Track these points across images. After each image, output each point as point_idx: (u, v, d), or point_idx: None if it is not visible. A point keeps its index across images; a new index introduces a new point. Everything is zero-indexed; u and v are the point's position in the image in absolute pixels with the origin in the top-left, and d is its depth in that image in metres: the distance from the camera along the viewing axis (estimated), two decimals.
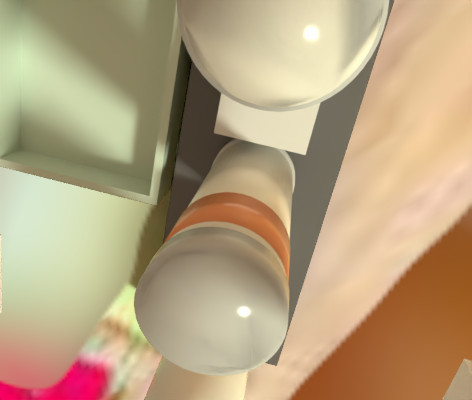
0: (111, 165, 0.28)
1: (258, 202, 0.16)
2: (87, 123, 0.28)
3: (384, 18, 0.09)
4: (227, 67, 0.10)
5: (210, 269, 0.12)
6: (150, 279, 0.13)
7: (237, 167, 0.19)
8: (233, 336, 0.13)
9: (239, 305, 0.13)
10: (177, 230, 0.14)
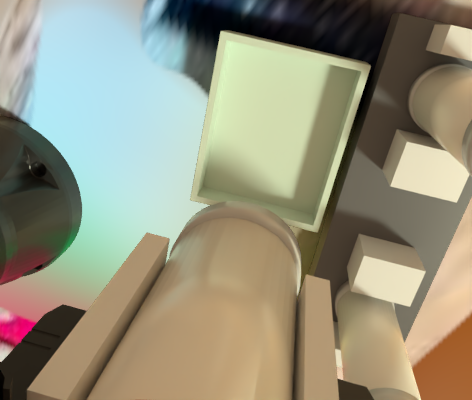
0: (275, 200, 0.37)
1: None
2: (260, 168, 0.36)
3: None
4: None
5: None
6: None
7: (194, 298, 0.10)
8: None
9: None
10: None
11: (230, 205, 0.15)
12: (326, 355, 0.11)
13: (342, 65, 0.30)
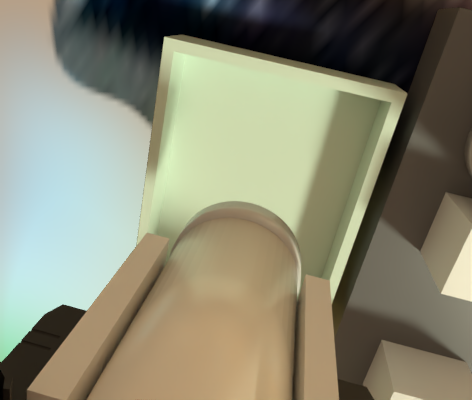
0: None
1: None
2: None
3: None
4: None
5: None
6: None
7: (195, 298, 0.10)
8: None
9: None
10: None
11: (230, 205, 0.15)
12: (326, 355, 0.11)
13: (360, 92, 0.19)
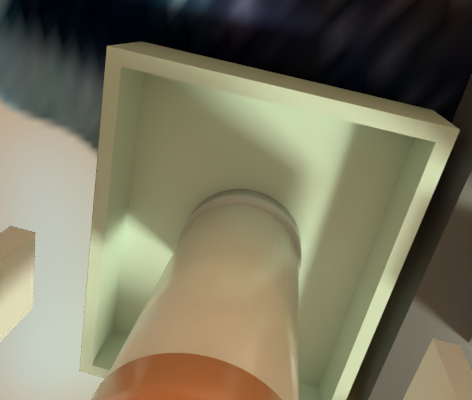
0: None
1: (240, 374, 0.08)
2: None
3: None
4: None
5: None
6: None
7: (209, 271, 0.11)
8: None
9: None
10: None
11: (235, 193, 0.16)
12: None
13: (390, 127, 0.13)
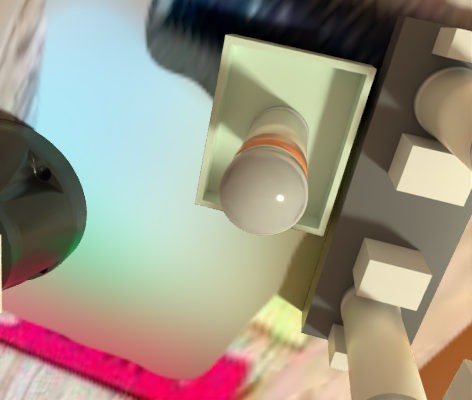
0: None
1: (287, 139, 0.26)
2: None
3: None
4: None
5: (264, 166, 0.22)
6: (229, 174, 0.23)
7: (272, 123, 0.29)
8: (276, 208, 0.23)
9: (280, 188, 0.22)
10: (241, 151, 0.24)
11: (277, 106, 0.33)
12: None
13: (347, 68, 0.30)
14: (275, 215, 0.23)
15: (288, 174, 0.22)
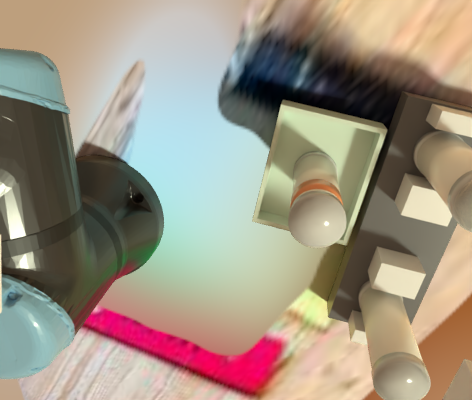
0: None
1: (329, 183, 0.38)
2: None
3: None
4: (466, 220, 0.31)
5: (319, 204, 0.35)
6: (296, 209, 0.35)
7: (315, 168, 0.41)
8: (325, 231, 0.36)
9: (328, 218, 0.35)
10: (301, 192, 0.37)
11: (314, 152, 0.46)
12: None
13: (367, 129, 0.43)
14: (324, 235, 0.36)
15: (334, 209, 0.35)
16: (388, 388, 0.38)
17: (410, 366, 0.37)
